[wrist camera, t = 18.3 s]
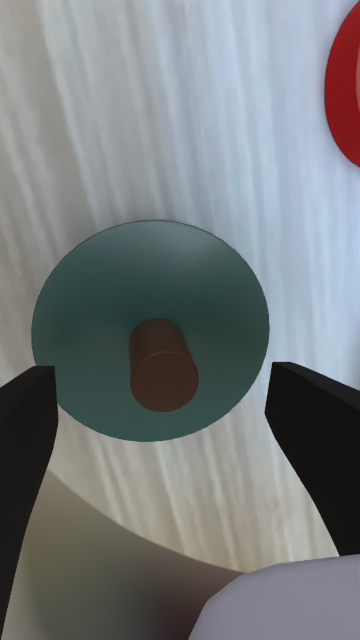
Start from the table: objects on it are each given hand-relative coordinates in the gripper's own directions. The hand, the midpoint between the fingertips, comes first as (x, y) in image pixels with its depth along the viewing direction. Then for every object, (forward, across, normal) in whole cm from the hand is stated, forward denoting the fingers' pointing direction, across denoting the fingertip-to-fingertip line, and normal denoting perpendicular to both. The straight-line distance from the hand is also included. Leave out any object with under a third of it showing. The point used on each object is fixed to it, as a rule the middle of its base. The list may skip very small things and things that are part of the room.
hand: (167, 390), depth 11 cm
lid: (+4, 0, 0) cm, 4 cm away
